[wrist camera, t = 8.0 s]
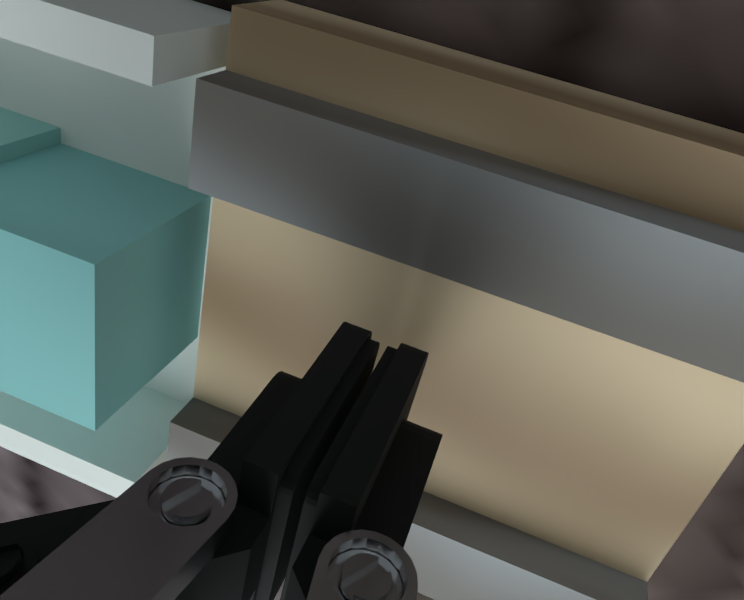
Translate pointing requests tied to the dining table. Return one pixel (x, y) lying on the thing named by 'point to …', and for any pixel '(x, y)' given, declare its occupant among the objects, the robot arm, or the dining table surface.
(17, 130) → the light teal cube
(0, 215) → the teal cube block
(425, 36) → the dining table surface
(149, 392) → the tray
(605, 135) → the slot board
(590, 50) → the dining table surface
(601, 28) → the dining table surface
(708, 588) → the dining table surface
